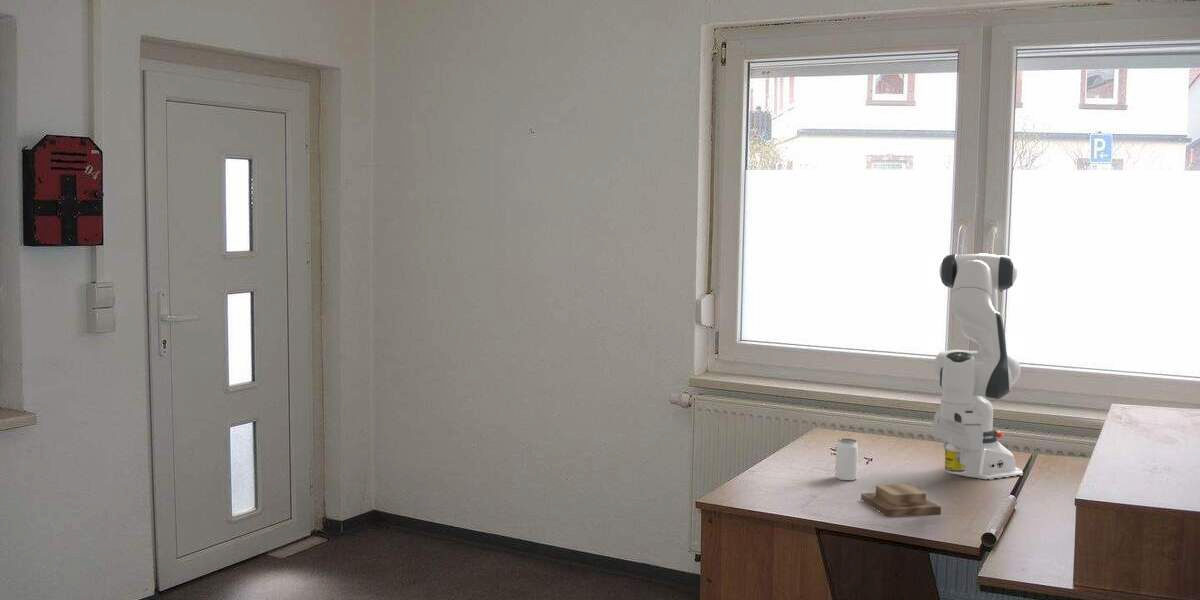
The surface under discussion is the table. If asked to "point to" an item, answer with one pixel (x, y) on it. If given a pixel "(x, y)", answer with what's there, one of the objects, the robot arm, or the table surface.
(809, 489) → the table surface
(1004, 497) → the table surface
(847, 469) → the can
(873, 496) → the plinth
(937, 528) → the table surface
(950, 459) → the supplement bottle
